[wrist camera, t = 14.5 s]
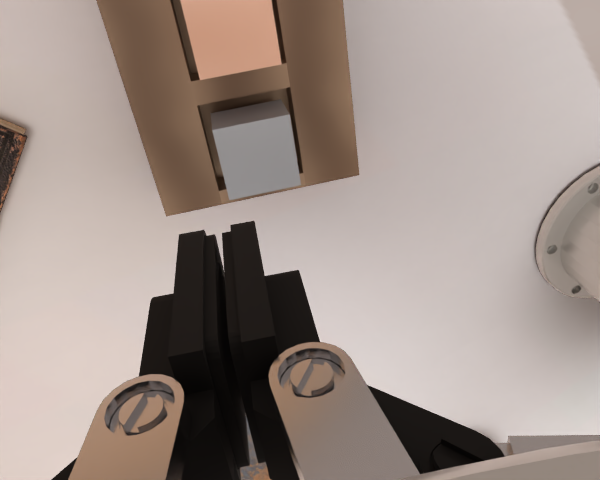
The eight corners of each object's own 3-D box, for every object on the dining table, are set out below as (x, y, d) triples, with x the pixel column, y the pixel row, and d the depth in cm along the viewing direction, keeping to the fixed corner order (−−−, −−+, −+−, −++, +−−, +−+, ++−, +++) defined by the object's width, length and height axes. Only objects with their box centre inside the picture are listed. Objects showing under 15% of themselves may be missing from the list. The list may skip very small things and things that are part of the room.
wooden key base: (302, -237, 24) (317, -262, 21) (344, 155, 35) (359, 174, 32) (46, -199, 23) (25, -220, 20) (168, 192, 34) (166, 216, 31)
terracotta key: (259, -31, 25) (266, -28, 23) (273, 53, 27) (281, 64, 25) (178, -17, 25) (177, -12, 22) (199, 67, 27) (199, 80, 25)
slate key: (281, 99, 29) (289, 114, 26) (291, 164, 31) (301, 185, 28) (210, 113, 28) (212, 130, 26) (226, 178, 30) (229, 200, 28)
